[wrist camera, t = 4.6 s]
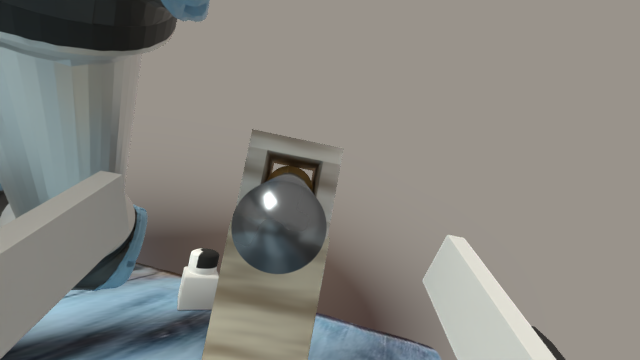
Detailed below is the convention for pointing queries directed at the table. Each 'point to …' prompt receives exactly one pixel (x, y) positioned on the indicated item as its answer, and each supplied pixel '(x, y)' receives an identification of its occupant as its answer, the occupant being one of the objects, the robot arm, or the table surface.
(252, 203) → the plug rod
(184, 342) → the table surface
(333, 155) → the bore stand
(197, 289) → the medicine bottle
